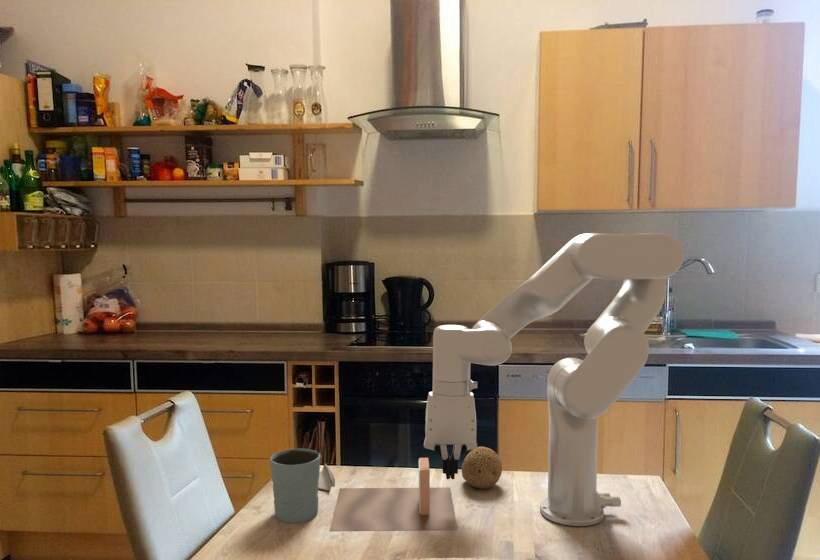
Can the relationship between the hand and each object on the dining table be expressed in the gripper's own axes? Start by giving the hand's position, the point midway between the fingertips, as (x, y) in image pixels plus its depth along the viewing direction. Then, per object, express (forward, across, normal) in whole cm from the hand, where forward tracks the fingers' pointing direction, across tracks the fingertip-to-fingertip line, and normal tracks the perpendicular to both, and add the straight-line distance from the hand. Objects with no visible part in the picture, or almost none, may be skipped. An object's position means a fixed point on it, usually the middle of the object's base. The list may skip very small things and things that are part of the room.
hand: (450, 476), depth 129 cm
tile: (+6, +5, 0) cm, 8 cm away
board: (+8, +11, 0) cm, 14 cm away
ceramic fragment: (+9, +27, -17) cm, 33 cm away
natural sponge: (+8, -8, -11) cm, 16 cm away
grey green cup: (+8, +31, -1) cm, 32 cm away
